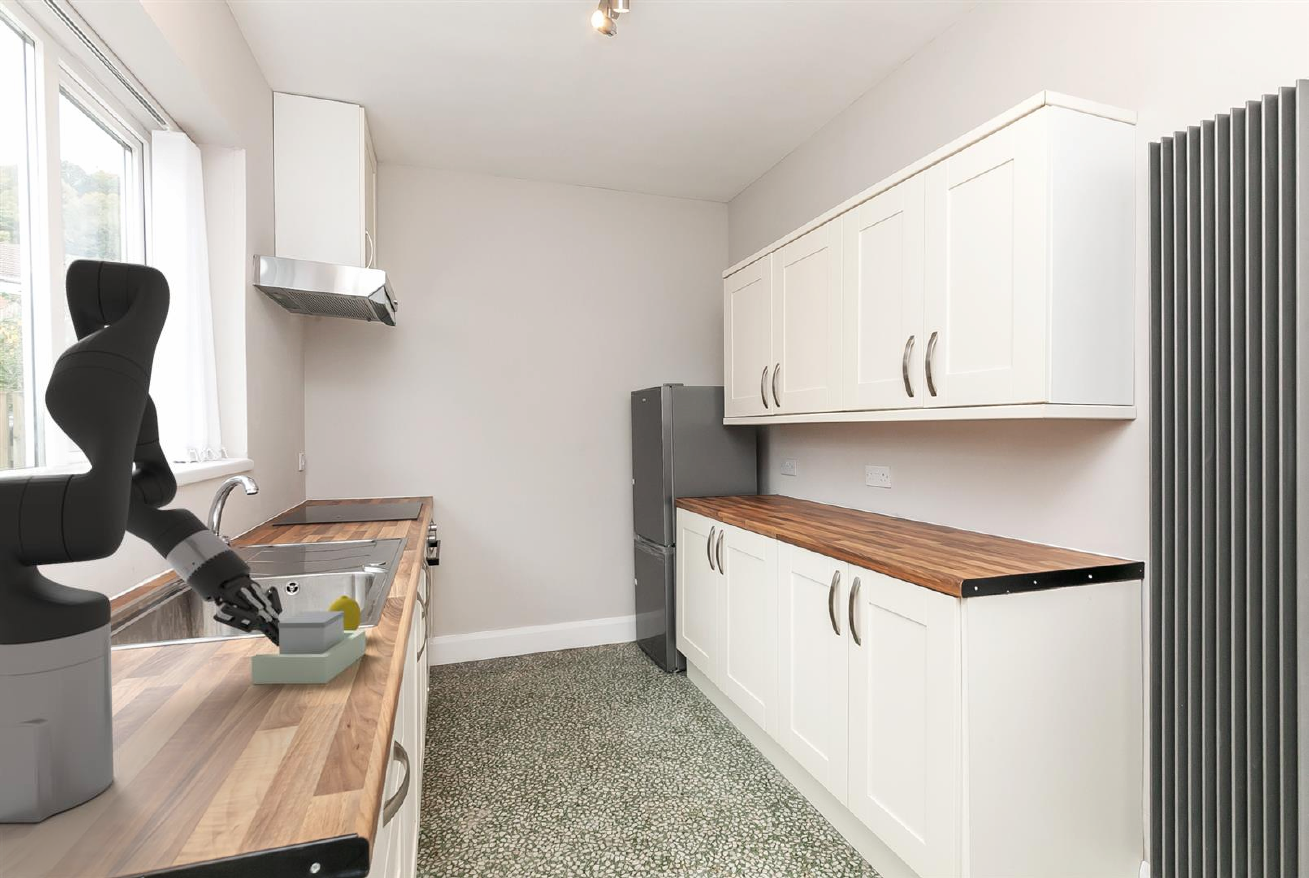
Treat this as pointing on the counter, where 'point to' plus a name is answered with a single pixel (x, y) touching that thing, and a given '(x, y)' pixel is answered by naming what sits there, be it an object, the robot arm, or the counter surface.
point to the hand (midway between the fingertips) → (286, 641)
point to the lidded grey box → (311, 632)
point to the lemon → (348, 612)
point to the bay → (308, 663)
